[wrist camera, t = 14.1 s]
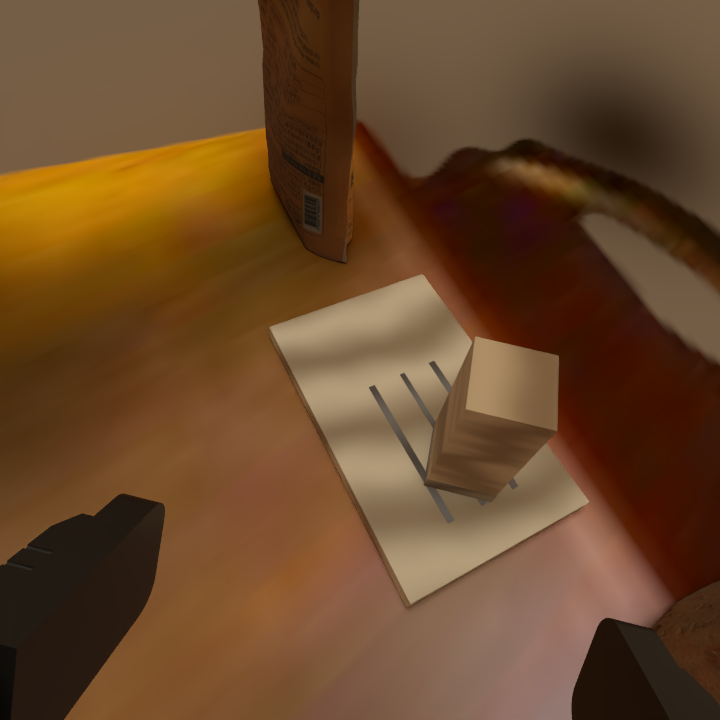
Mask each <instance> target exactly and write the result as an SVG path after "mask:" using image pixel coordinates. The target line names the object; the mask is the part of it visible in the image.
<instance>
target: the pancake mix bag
mask: <svg viewBox="0 0 720 720" xmlns="http://www.w3.org/2000/svg"><path fill="white" fill-rule="evenodd" d="M258 5H259V10H260V20H261V30H262V40H263V63H262V65H263V85H264V106H265V126H266V140H267V147H268V159H269V171H270V177H271V181H272V183H273V185H274V187H275V189H276V191H277V193H278V195H279V197H280V199H281V201H282V203H283V205H284V207H285V209H286V210H287V212H288V214H289V216H290V218H291V219H292V221H293V223H294V225H295V227H296V230H297V232H298V234H299V236H300V238H301V240H302V242H303V244H304V246H305V248H306V249H308V250H310V251H311V252H313V253H315V254H316V255H318V256H322V257H325V258H328V259H331V260H335V261H340V262H345V263H347V257H346V246H347V245H348V244H349V243H350V242H351V240H352V233H353V193H354V189H353V143H354V135H355V128H356V75H357V65H358V18H359V16H358V15H359V0H258Z"/></svg>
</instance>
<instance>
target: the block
mask: <svg viewBox="0 0 720 720" xmlns="http://www.w3.org/2000/svg"><path fill="white" fill-rule="evenodd" d="M653 630H654V631H655V632H656V633H657V634H658V635H659V637H660V638H661V640H662V641H663V643H664V644H665V646H666V647H667V649H668V651H669V652H670V654H671V655H672V657H673V658H674V660H675V661H676V663H677V664H678V666H679V667H680V668H682V669H685V670H686V671H687V672H688V673H689V674H690V675H691V676H692V677H693V678H694V679H695V680H696V681H697V682H698V683H699V684H700V685H701V686H702V687H703V688H704V689H705V690H706V691H707V692H708V693H709V694H710V695H712V696H713V697H714V698H715V700H716V701H717V703H718V704H719V706H720V581H717V582H715V583H712V584H710V585H708V586H706V587H704V588H702V589H700V590H697V591H696V592H694V593H692V594H690V595H688V596H686V597H684V598H683V599H682V600H680V601H678V602H677V603H675V604H674V605H673V606H672V607H671V609H670V610H669V611H668V612H667V613H665V614H664V615H663V616H662V617H661V619H660V620H659V621H658V622H657V624H656V625H655V626H654V628H653Z"/></svg>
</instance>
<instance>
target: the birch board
mask: <svg viewBox="0 0 720 720" xmlns="http://www.w3.org/2000/svg"><path fill="white" fill-rule="evenodd" d="M269 328H270V338H271V340H272V342H273V344H274V346H275V348H276V350H277V352H278V354H279V356H280V358H281V360H282V362H283V364H284V366H285V368H286V370H287V372H288V374H289V376H290V378H291V380H292V382H293V384H294V386H295V388H296V390H297V392H298V394H299V396H300V398H301V400H302V402H303V404H304V406H305V407H306V409H307V411H308V413H309V415H310V417H311V419H312V421H313V423H314V425H315V427H316V429H317V431H318V433H319V435H320V437H321V439H322V441H323V443H324V445H325V447H326V449H327V451H328V453H329V455H330V457H331V459H332V461H333V463H334V465H335V467H336V469H337V471H338V473H339V475H340V477H341V479H342V481H343V483H344V485H345V487H346V489H347V491H348V493H349V495H350V497H351V499H352V501H353V503H354V505H355V507H356V509H357V511H358V513H359V515H360V517H361V519H362V521H363V523H364V525H365V526H366V528H367V530H368V532H369V534H370V536H371V538H372V540H373V542H374V544H375V546H376V548H377V550H378V552H379V554H380V556H381V558H382V560H383V562H384V564H385V566H386V568H387V570H388V572H389V574H390V576H391V578H392V580H393V582H394V584H395V586H396V588H397V590H398V592H399V594H400V596H401V598H402V600H403V602H404V604H405V606H406V608H407V607H409V606H411V605H412V604H414V603H416V602H418V601H419V600H421V599H423V598H425V597H426V596H428V595H430V594H432V593H433V592H435V591H437V590H439V589H440V588H442V587H444V586H446V585H447V584H449V583H451V582H453V581H454V580H456V579H458V578H460V577H461V576H463V575H465V574H467V573H468V572H470V571H472V570H474V569H475V568H477V567H479V566H481V565H482V564H484V563H486V562H488V561H489V560H491V559H493V558H495V557H496V556H498V555H500V554H502V553H503V552H505V551H507V550H509V549H510V548H512V547H514V546H516V545H517V544H519V543H521V542H523V541H524V540H526V539H528V538H530V537H531V536H533V535H535V534H537V533H538V532H540V531H542V530H544V529H545V528H547V527H549V526H551V525H552V524H554V523H556V522H558V521H559V520H561V519H563V518H565V517H566V516H568V515H570V514H572V513H573V512H575V511H577V510H579V509H580V508H582V507H583V506H585V505H586V504H588V503H589V501H588V500H587V498H586V497H585V496H584V494H583V493H582V491H581V490H580V489H579V487H578V486H577V485H576V483H575V482H574V480H573V479H572V478H571V476H570V475H569V474H568V472H567V471H566V470H565V468H564V467H563V465H562V464H561V463H560V461H559V460H558V459H557V457H556V456H555V455H554V453H553V452H552V450H551V449H550V448H549V446H548V445H547V444H545V445H544V446H543V447H542V448H541V449H540V450H539V451H538V452H537V453H536V454H535V455H534V456H533V457H532V458H531V459H530V461H529V462H528V463H527V464H526V465H525V466H524V467H523V468H522V469H521V470H520V471H519V472H518V473H517V474H516V475H515V476H514V478H513V479H512V480H511V481H510V482H509V483H508V484H507V485H506V486H505V487H504V488H503V489H502V490H501V491H500V492H499V493H498V494H497V497H496V498H495V499H494V500H493V501H492V502H488V501H484V500H480V499H476V498H472V497H468V496H464V495H460V494H456V493H452V492H448V491H444V490H440V489H436V488H432V487H428V486H424V479H425V473H426V467H427V461H428V455H429V449H430V443H431V437H432V431H433V425H434V423H435V421H436V419H437V418H438V416H439V413H440V411H441V409H442V407H443V405H444V403H445V400H446V398H447V396H448V394H449V392H450V390H451V388H452V385H453V383H454V381H455V379H456V377H457V375H458V372H459V370H460V368H461V366H462V364H463V362H464V360H465V357H466V355H467V353H468V351H469V349H470V347H471V344H472V341H471V340H470V338H469V337H468V335H467V334H466V333H465V331H464V330H463V329H462V327H461V326H460V325H459V323H458V322H457V320H456V319H455V318H454V316H453V315H452V314H451V312H450V311H449V310H448V308H447V307H446V305H445V304H444V303H443V301H442V300H441V299H440V297H439V296H438V294H437V293H436V292H435V290H434V289H433V288H432V286H431V285H430V284H429V282H428V281H427V279H426V278H425V277H424V275H423V274H421V275H418V276H415V277H412V278H409V279H407V280H404V281H401V282H398V283H395V284H392V285H389V286H386V287H384V288H381V289H378V290H375V291H372V292H369V293H366V294H363V295H360V296H358V297H355V298H352V299H349V300H346V301H343V302H340V303H337V304H335V305H332V306H329V307H326V308H323V309H320V310H317V311H314V312H311V313H309V314H306V315H303V316H300V317H297V318H294V319H291V320H288V321H285V322H283V323H280V324H277V325H274V326H271V327H269Z"/></svg>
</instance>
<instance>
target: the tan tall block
mask: <svg viewBox="0 0 720 720" xmlns="http://www.w3.org/2000/svg"><path fill="white" fill-rule="evenodd" d="M558 368H559V356H557V355H553V354H548V353H544V352H540V351H535V350H531V349H527V348H522V347H518V346H514V345H510V344H505V343H501V342H497V341H492V340H488V339H484V338H479V337H475V338H474V340H473V342H472V344H471V347H470V349H469V351H468V353H467V355H466V357H465V360H464V362H463V364H462V366H461V368H460V370H459V372H458V375H457V377H456V379H455V381H454V383H453V385H452V388H451V390H450V392H449V394H448V396H447V398H446V400H445V403H444V405H443V407H442V409H441V411H440V413H439V416H438V418H437V419H436V421H435V423H434V425H433V431H432V437H431V443H430V449H429V455H428V461H427V467H426V473H425V479H424V486H428V487H432V488H436V489H440V490H444V491H448V492H452V493H456V494H460V495H464V496H468V497H472V498H476V499H480V500H484V501H488V502H492V501H493V500H494V499H495V498H496V497H497V494H498V493H499V492H500V491H501V490H502V489H503V488H504V487H505V486H506V485H507V484H508V483H509V482H510V481H511V480H512V479H513V478H514V476H515V475H516V474H517V473H518V472H519V471H520V470H521V469H522V468H523V467H524V466H525V465H526V464H527V463H528V462H529V461H530V459H531V458H532V457H533V456H534V455H535V454H536V453H537V452H538V451H539V450H540V449H541V448H542V447H543V446H544V445H545V444H546V442H547V441H548V440H549V439H550V438H551V437H552V436H553V435H554V434H555V433H556V432H557V417H558Z"/></svg>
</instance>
